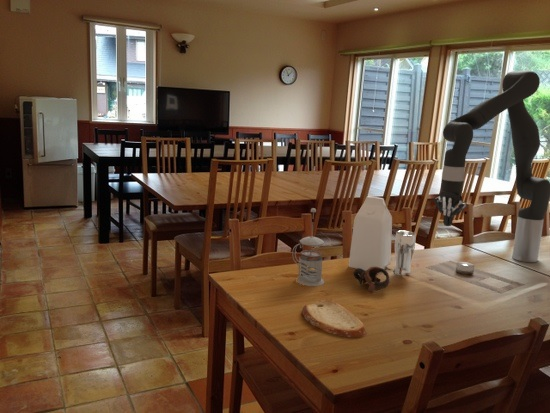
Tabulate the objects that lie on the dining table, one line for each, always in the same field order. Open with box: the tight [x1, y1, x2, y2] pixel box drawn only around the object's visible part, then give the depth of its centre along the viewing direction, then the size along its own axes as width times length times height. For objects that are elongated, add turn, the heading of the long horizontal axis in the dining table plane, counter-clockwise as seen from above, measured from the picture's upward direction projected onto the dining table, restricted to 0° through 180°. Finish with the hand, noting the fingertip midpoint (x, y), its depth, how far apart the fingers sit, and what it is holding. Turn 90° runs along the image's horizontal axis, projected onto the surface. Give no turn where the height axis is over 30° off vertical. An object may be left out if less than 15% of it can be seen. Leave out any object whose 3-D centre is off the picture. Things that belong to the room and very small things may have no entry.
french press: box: [291, 207, 325, 287], centre depth 163 cm, size 10×12×25 cm
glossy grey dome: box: [456, 261, 475, 275], centre depth 175 cm, size 6×6×3 cm
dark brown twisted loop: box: [352, 267, 391, 294], centre depth 160 cm, size 12×10×8 cm
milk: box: [348, 195, 393, 274], centre depth 180 cm, size 12×12×26 cm
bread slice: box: [302, 298, 367, 338], centre depth 135 cm, size 18×18×4 cm
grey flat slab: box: [425, 260, 525, 294], centre depth 173 cm, size 15×29×1 cm, turn 36°
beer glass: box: [393, 230, 417, 277], centre depth 174 cm, size 7×7×15 cm
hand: (447, 225), depth 179 cm, fingers closed
